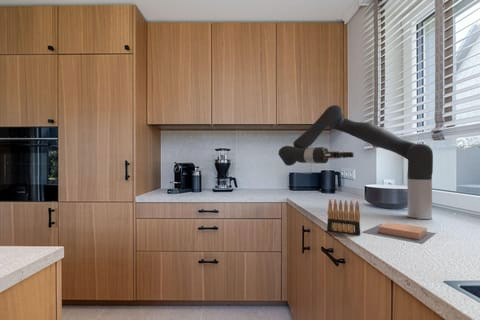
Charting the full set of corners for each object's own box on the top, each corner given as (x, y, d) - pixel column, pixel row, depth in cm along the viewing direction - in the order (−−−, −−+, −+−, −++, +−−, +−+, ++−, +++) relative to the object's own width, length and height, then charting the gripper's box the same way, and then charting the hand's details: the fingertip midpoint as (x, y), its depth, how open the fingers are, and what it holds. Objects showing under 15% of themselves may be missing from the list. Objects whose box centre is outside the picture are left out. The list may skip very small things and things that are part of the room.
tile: (388, 222, 101) (427, 227, 92) (388, 227, 101) (427, 234, 92) (378, 226, 94) (419, 233, 85) (378, 232, 94) (419, 240, 85)
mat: (380, 225, 106) (380, 224, 106) (436, 234, 93) (436, 233, 93) (361, 234, 94) (361, 232, 94) (422, 245, 81) (422, 243, 81)
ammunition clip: (326, 233, 95) (326, 198, 95) (328, 231, 97) (328, 198, 97) (359, 237, 90) (359, 201, 90) (360, 236, 92) (360, 200, 92)
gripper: (308, 146, 123) (345, 145, 110) (323, 147, 132) (359, 146, 119) (308, 163, 123) (345, 163, 110) (323, 163, 132) (359, 163, 119)
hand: (352, 154), depth 115 cm, fingers closed
